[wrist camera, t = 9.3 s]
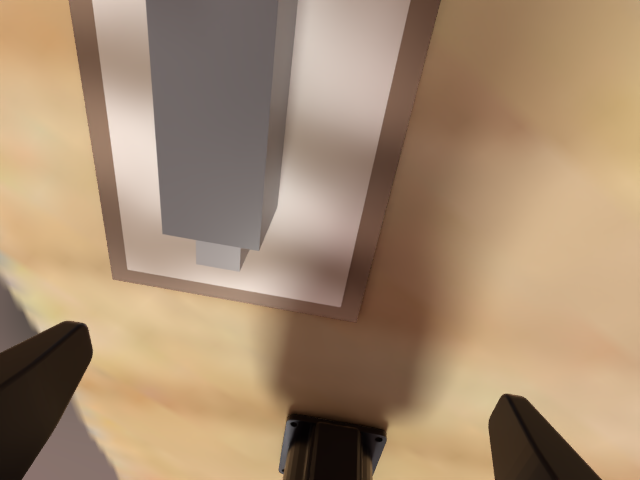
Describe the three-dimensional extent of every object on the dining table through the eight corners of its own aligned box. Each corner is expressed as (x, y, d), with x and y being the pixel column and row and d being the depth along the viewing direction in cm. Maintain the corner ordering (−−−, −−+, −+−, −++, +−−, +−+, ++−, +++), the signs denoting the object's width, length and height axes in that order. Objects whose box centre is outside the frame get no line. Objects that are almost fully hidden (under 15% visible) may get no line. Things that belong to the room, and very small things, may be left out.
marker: (276, 241, 19) (257, 292, 16) (195, 227, 19) (160, 275, 16) (323, -223, 11) (305, -314, 8) (185, -246, 11) (110, -347, 8)
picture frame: (356, 317, 21) (356, 325, 21) (116, 274, 22) (110, 281, 21) (497, -225, 11) (503, -236, 10) (29, -304, 11) (13, -319, 11)
